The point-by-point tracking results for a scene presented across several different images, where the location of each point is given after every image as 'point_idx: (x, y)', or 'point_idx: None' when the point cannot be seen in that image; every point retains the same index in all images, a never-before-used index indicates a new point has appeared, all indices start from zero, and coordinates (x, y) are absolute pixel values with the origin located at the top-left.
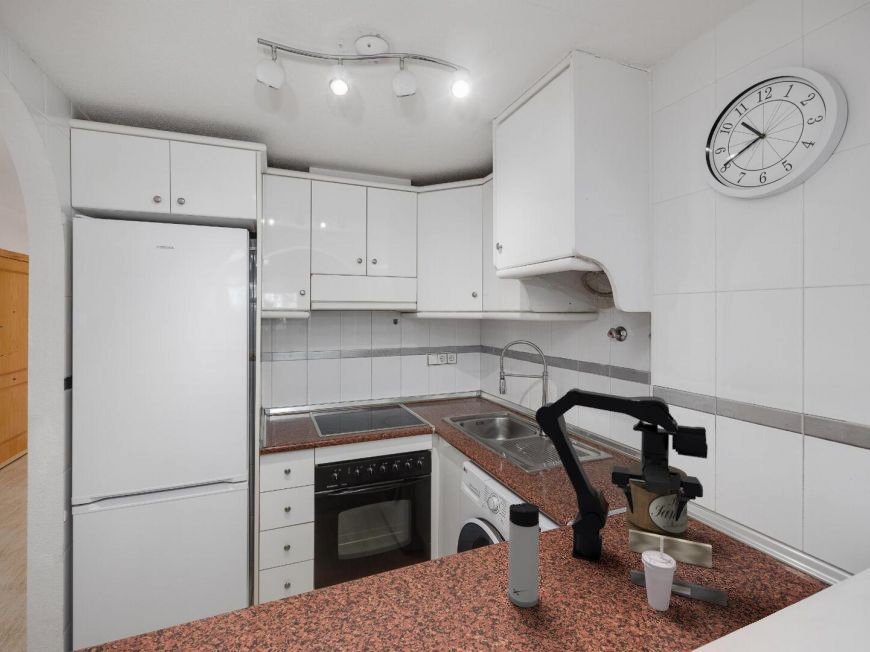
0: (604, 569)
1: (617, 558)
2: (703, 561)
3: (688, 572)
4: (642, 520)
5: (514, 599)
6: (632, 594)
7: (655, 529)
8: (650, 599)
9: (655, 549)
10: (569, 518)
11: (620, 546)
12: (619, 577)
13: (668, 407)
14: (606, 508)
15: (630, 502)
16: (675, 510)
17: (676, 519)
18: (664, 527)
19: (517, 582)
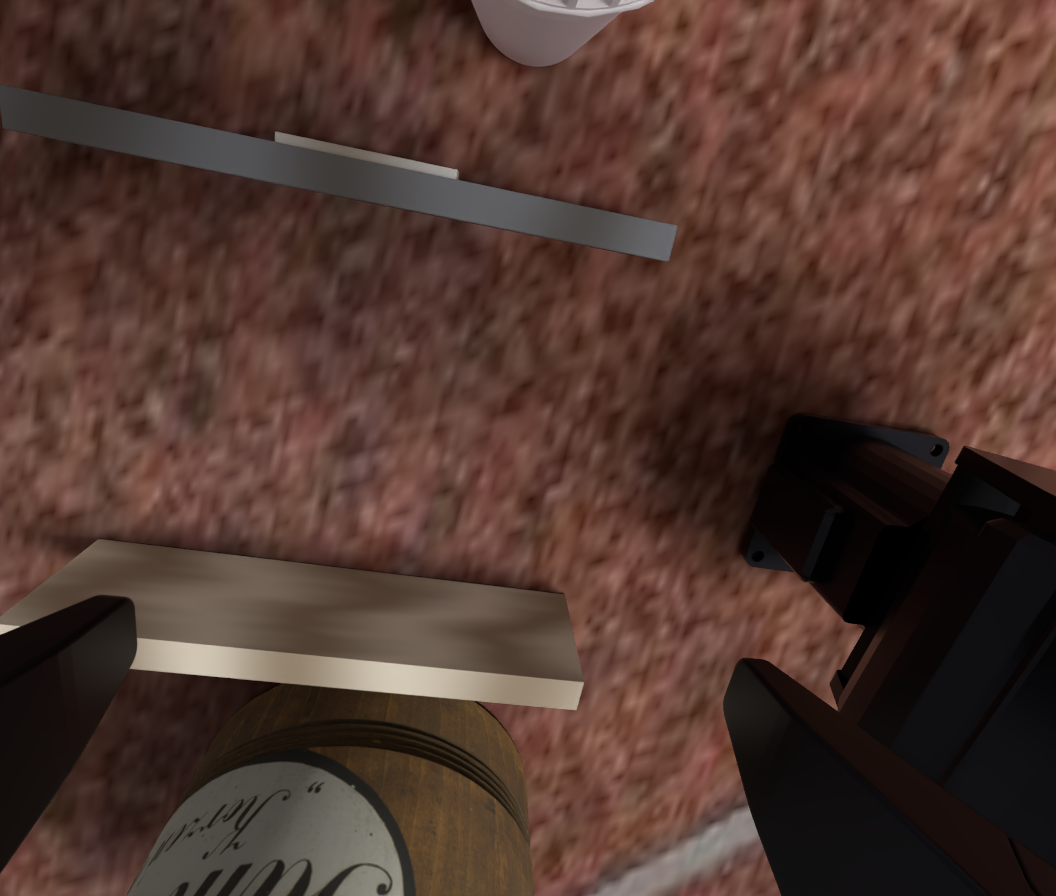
0: (778, 345)
1: (658, 492)
2: (128, 561)
3: (251, 454)
4: (459, 823)
5: None
6: (681, 84)
7: (379, 762)
8: None
9: (413, 602)
10: None
11: (603, 623)
12: (708, 276)
13: None
14: (1028, 720)
15: (924, 797)
16: (21, 786)
17: (98, 606)
18: (310, 784)
19: None
